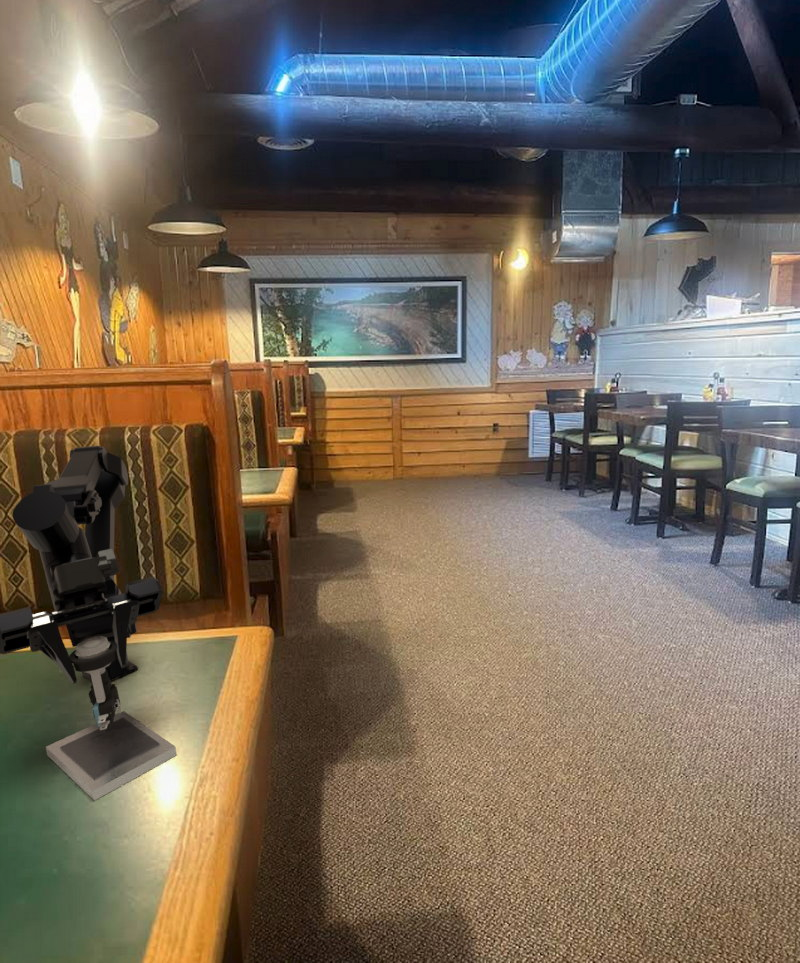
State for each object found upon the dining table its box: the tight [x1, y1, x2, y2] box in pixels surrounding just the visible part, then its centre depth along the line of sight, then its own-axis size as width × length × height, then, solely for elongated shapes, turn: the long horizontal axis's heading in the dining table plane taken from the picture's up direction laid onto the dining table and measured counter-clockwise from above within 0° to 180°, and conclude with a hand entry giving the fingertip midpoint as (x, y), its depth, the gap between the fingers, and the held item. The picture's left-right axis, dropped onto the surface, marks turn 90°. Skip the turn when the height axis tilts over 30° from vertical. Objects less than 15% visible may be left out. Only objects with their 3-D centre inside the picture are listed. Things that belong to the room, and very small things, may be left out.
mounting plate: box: [45, 710, 177, 801], centre depth 76 cm, size 14×10×1 cm
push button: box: [69, 636, 122, 730], centre depth 74 cm, size 7×5×10 cm
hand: (99, 674), depth 73 cm, fingers closed on push button, 5 cm apart
